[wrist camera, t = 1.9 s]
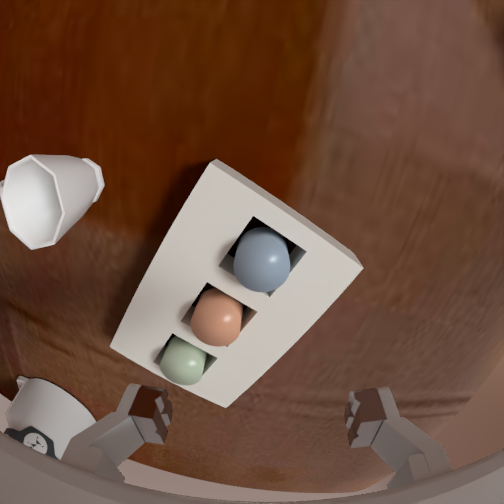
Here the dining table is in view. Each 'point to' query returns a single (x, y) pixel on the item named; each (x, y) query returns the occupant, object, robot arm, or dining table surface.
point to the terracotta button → (217, 318)
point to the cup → (48, 196)
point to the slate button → (262, 260)
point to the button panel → (232, 284)
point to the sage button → (183, 362)
